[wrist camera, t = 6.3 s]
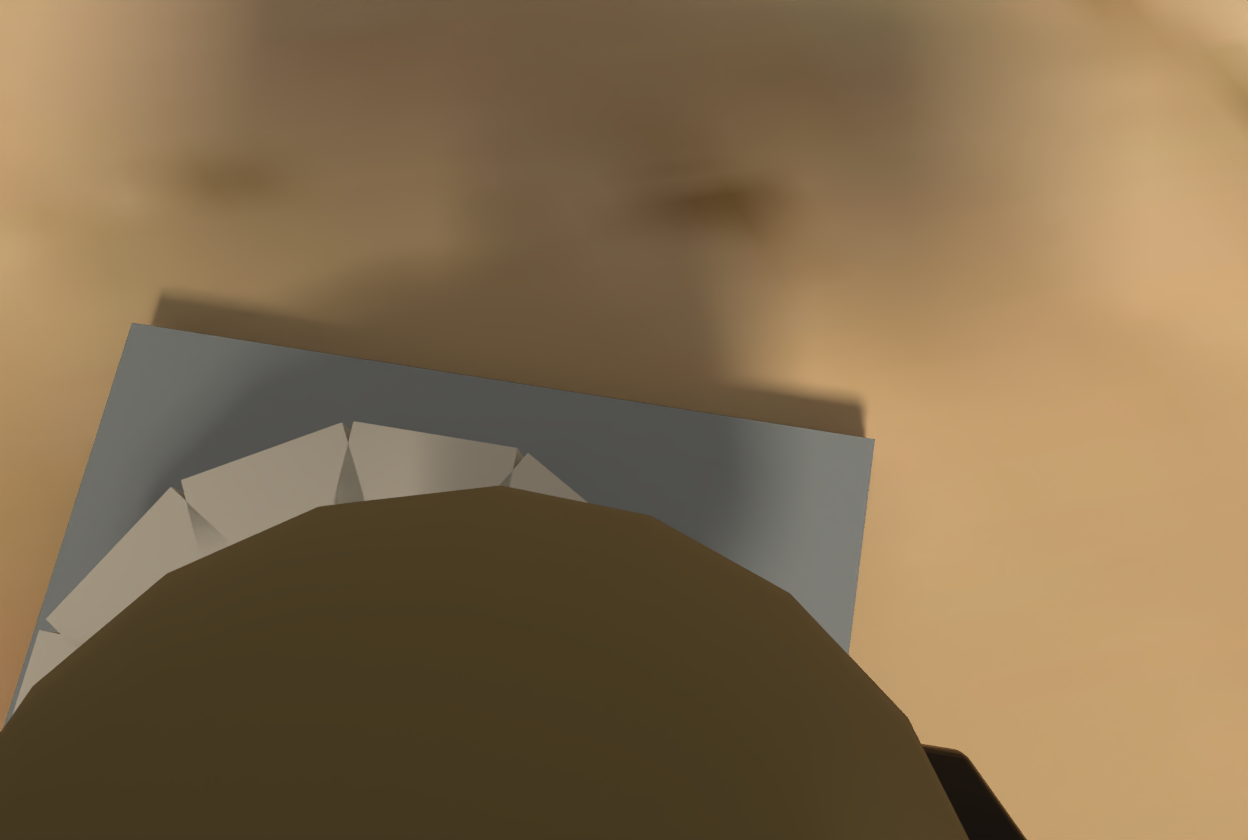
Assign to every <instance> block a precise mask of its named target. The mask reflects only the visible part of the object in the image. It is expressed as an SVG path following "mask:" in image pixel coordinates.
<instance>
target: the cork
mask: <svg viewBox="0 0 1248 840" xmlns="http://www.w3.org/2000/svg"><path fill="white" fill-rule="evenodd" d="M0 840H969V838H968V836H967V834H966V832H965V830H964V828H963V826H962V824H961V822H960V820H959V818H958V816H957V814H956V812H955V810H954V808H953V806H952V804H951V802H950V800H949V798H948V796H947V794H946V792H945V791H944V789H943V787H942V785H941V783H940V781H939V779H938V777H937V775H936V773H935V771H934V769H933V767H932V765H931V763H930V761H929V759H928V757H927V755H926V753H925V751H924V749H923V747H922V745H921V743H920V741H919V739H918V737H917V735H916V733H915V731H914V729H913V727H912V725H911V723H910V721H909V719H908V717H907V716H906V715H905V714H904V713H903V712H902V711H901V710H900V709H899V708H898V707H897V706H896V705H895V704H894V703H893V701H892V700H891V699H890V698H889V697H888V696H887V695H886V694H885V693H884V692H883V691H882V690H881V689H880V688H879V687H878V686H877V685H876V684H875V682H874V681H873V680H872V679H871V678H870V677H869V676H868V675H867V674H866V673H865V672H864V671H863V670H862V669H861V668H860V667H859V666H858V664H857V663H856V662H855V661H854V660H853V659H852V658H851V657H850V656H849V655H848V654H847V653H846V652H845V651H844V650H843V649H842V648H841V647H840V645H839V644H838V643H837V642H836V641H835V640H834V639H833V638H832V637H831V636H830V635H829V634H828V633H827V632H826V631H825V630H824V629H823V628H822V626H821V625H820V624H819V623H818V622H817V621H816V620H815V619H814V618H813V617H812V616H811V615H810V614H809V613H808V612H807V611H806V610H805V609H804V607H803V606H802V605H801V604H800V603H799V602H798V601H797V600H796V599H795V598H794V597H793V596H792V595H791V594H790V593H789V592H787V591H785V590H783V589H782V588H780V587H778V586H776V585H774V584H773V583H771V582H769V581H767V580H765V579H764V578H762V577H760V576H758V575H756V574H755V573H753V572H751V571H749V570H747V569H746V568H744V567H742V566H740V565H739V564H737V563H735V562H733V561H731V560H730V559H728V558H726V557H724V556H722V555H721V554H719V553H717V552H715V551H713V550H712V549H710V548H708V547H706V546H705V545H703V544H701V543H699V542H697V541H696V540H694V539H692V538H690V537H688V536H687V535H685V534H683V533H681V532H679V531H678V530H676V529H674V528H672V527H670V526H669V525H667V524H665V523H663V522H662V521H660V520H658V519H656V518H654V517H653V516H651V515H646V514H641V513H636V512H631V511H626V510H621V509H616V508H611V507H606V506H601V505H596V504H591V503H586V502H581V501H576V500H571V499H566V498H561V497H556V496H551V495H546V494H541V493H536V492H531V491H526V490H521V489H516V488H511V487H506V486H501V485H499V486H490V487H482V488H473V489H464V490H455V491H447V492H438V493H429V494H421V495H412V496H403V497H395V498H386V499H377V500H368V501H360V502H351V503H343V504H335V505H327V506H319V507H316V508H314V509H312V510H310V511H307V512H305V513H303V514H301V515H298V516H296V517H294V518H291V519H289V520H287V521H285V522H282V523H280V524H278V525H276V526H273V527H271V528H269V529H267V530H264V531H262V532H260V533H257V534H255V535H253V536H251V537H248V538H246V539H244V540H242V541H239V542H237V543H235V544H232V545H230V546H228V547H226V548H223V549H221V550H219V551H217V552H214V553H212V554H210V555H208V556H205V557H203V558H201V559H198V560H196V561H194V562H192V563H189V564H187V565H185V566H183V567H180V568H178V569H176V570H174V571H171V572H169V573H167V574H166V575H164V576H163V577H162V578H161V579H160V580H158V581H157V582H156V583H155V584H154V585H152V586H151V587H150V588H149V589H148V590H146V591H145V592H144V593H143V594H142V595H141V596H139V597H138V598H137V599H136V600H135V601H133V602H132V603H131V604H130V605H129V606H127V607H126V608H125V609H124V610H123V611H121V612H120V613H119V614H118V615H117V616H116V617H114V618H113V619H112V620H111V621H110V622H108V623H107V624H106V625H105V626H104V627H102V628H101V629H100V630H99V631H98V632H96V633H95V634H94V635H93V636H92V637H91V638H89V639H88V640H87V641H86V642H85V643H83V644H82V645H81V646H80V647H79V648H77V649H76V650H75V651H74V652H73V653H71V654H70V655H69V656H68V657H67V658H66V659H64V660H63V661H62V662H61V663H60V664H58V665H57V666H56V667H55V668H54V669H52V670H51V671H50V672H49V673H48V674H46V675H45V676H44V677H43V678H42V679H41V680H39V681H38V682H37V683H36V684H35V685H33V686H32V688H31V689H30V691H29V692H28V694H27V695H26V696H25V698H24V699H23V701H22V702H21V704H20V705H19V707H18V708H17V709H16V711H15V712H14V714H13V715H12V717H11V718H10V720H9V721H8V722H7V724H6V725H5V727H4V728H3V730H2V731H1V733H0Z"/></svg>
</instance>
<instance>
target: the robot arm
mask: <svg viewBox="0 0 1248 840" xmlns="http://www.w3.org/2000/svg"><path fill="white" fill-rule="evenodd" d="M921 745H922V747H923V749H924V751H925V753H926V755H927V757H928V759H929V761H930V763H931V765H932V767H933V769H934V771H935V773H936V775H937V777H938V779H939V781H940V783H941V785H942V787H943V789H944V791H945V792H946V794H947V796H948V798H949V800H950V802H951V804H952V806H953V808H954V810H955V812H956V814H957V816H958V818H959V820H960V822H961V824H962V826H963V828H964V830H965V832H966V834H967V836H968V838H969V840H1027V839H1026V838H1025V837H1024V835H1023V834H1022V832H1021V831H1020V830H1019V828H1018V827H1017V825H1016V824H1015V822H1014V821H1013V820H1012V818H1011V817H1010V815H1009V814H1008V813H1007V811H1006V810H1005V808H1004V807H1003V806H1002V804H1001V803H1000V801H999V800H998V799H997V797H996V796H995V794H994V793H993V792H992V790H991V789H990V787H989V786H988V785H987V783H986V782H985V780H984V779H983V778H982V776H981V775H980V773H979V772H978V771H977V769H976V768H975V766H974V765H973V764H972V762H971V761H970V760H969V758H968V757H967V756H966V755H964V754H963V753H962V752H960V751H958V750H955V749H949V748H943V747H937V746H931V745H925V744H921Z"/></svg>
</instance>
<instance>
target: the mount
mask: <svg viewBox="0 0 1248 840" xmlns="http://www.w3.org/2000/svg"><path fill="white" fill-rule="evenodd" d="M874 441H875V439H870V438H864V437H857V436H851V435H845V434H838V433H832V432H825V431H819V430H813V429H806V428H800V427H794V426H787V425H781V424H774V423H768V422H762V421H755V420H749V419H743V418H736V417H730V416H723V415H717V414H711V413H704V412H698V411H692V410H685V409H679V408H672V407H666V406H660V405H653V404H647V403H641V402H634V401H628V400H621V399H615V398H609V397H602V396H596V395H590V394H583V393H577V392H570V391H564V390H558V389H551V388H545V387H539V386H532V385H526V384H519V383H513V382H507V381H500V380H494V379H487V378H481V377H475V376H468V375H462V374H456V373H449V372H443V371H436V370H430V369H424V368H417V367H411V366H405V365H398V364H392V363H385V362H379V361H373V360H366V359H360V358H354V357H347V356H341V355H334V354H328V353H322V352H315V351H309V350H303V349H296V348H290V347H283V346H277V345H271V344H264V343H258V342H252V341H245V340H239V339H232V338H226V337H220V336H213V335H207V334H201V333H194V332H188V331H181V330H175V329H169V328H162V327H156V326H150V325H143V324H137V323H132V325H131V328H130V331H129V334H128V337H127V340H126V343H125V347H124V350H123V353H122V356H121V359H120V362H119V366H118V369H117V372H116V375H115V378H114V381H113V384H112V388H111V391H110V394H109V397H108V400H107V403H106V406H105V410H104V413H103V416H102V419H101V422H100V425H99V428H98V432H97V435H96V438H95V441H94V444H93V447H92V451H91V454H90V457H89V460H88V463H87V466H86V469H85V473H84V476H83V479H82V482H81V485H80V488H79V491H78V495H77V498H76V501H75V504H74V507H73V510H72V513H71V517H70V520H69V523H68V526H67V529H66V532H65V536H64V539H63V542H62V545H61V548H60V551H59V554H58V558H57V561H56V564H55V567H54V570H53V573H52V576H51V580H50V583H49V586H48V589H47V592H46V595H45V598H44V602H43V605H42V608H41V611H40V614H39V617H38V621H37V624H36V627H35V630H34V633H33V636H32V639H31V643H30V646H29V649H28V652H27V655H26V658H25V661H24V665H23V668H22V671H21V674H20V677H19V680H18V683H17V687H16V690H15V693H14V696H13V699H12V702H11V706H10V709H9V712H8V715H7V718H6V721H5V724H4V727H5V725H6V724H7V722H8V721H9V720H10V718H11V717H12V715H13V714H14V712H15V711H16V709H17V708H18V707H19V705H20V704H21V702H22V701H23V699H24V698H25V696H26V695H27V694H28V692H29V691H30V689H31V688H32V686H33V685H35V684H36V683H37V682H38V681H39V680H41V679H42V678H43V677H44V676H45V675H46V674H48V673H49V672H50V671H51V670H52V669H54V668H55V667H56V666H57V665H58V664H60V663H61V662H62V661H63V660H64V659H66V658H67V657H68V656H69V655H70V654H71V653H73V652H74V651H75V650H76V649H77V648H79V647H80V646H81V645H82V644H83V643H85V642H86V641H87V640H88V639H89V638H91V637H92V636H93V635H94V634H95V633H96V632H98V631H99V630H100V629H101V628H102V627H104V626H105V625H106V624H107V623H108V622H110V621H111V620H112V619H113V618H114V617H116V616H117V615H118V614H119V613H120V612H121V611H123V610H124V609H125V608H126V607H127V606H129V605H130V604H131V603H132V602H133V601H135V600H136V599H137V598H138V597H139V596H141V595H142V594H143V593H144V592H145V591H146V590H148V589H149V588H150V587H151V586H152V585H154V584H155V583H156V582H157V581H158V580H160V579H161V578H162V577H163V576H164V575H166V574H167V573H169V572H171V571H174V570H176V569H178V568H180V567H183V566H185V565H187V564H189V563H192V562H194V561H196V560H198V559H201V558H203V557H205V556H208V555H210V554H212V553H214V552H217V551H219V550H221V549H223V548H226V547H228V546H230V545H232V544H235V543H237V542H239V541H242V540H244V539H246V538H248V537H251V536H253V535H255V534H257V533H260V532H262V531H264V530H267V529H269V528H271V527H273V526H276V525H278V524H280V523H282V522H285V521H287V520H289V519H291V518H294V517H296V516H298V515H301V514H303V513H305V512H307V511H310V510H312V509H314V508H316V507H319V506H327V505H335V504H343V503H351V502H360V501H368V500H377V499H386V498H395V497H403V496H412V495H421V494H429V493H438V492H447V491H455V490H464V489H473V488H482V487H490V486H499V485H501V486H506V487H511V488H516V489H521V490H526V491H531V492H536V493H541V494H546V495H551V496H556V497H561V498H566V499H571V500H576V501H581V502H586V503H591V504H596V505H601V506H606V507H611V508H616V509H621V510H626V511H631V512H636V513H641V514H646V515H651V516H653V517H654V518H656V519H658V520H660V521H662V522H663V523H665V524H667V525H669V526H670V527H672V528H674V529H676V530H678V531H679V532H681V533H683V534H685V535H687V536H688V537H690V538H692V539H694V540H696V541H697V542H699V543H701V544H703V545H705V546H706V547H708V548H710V549H712V550H713V551H715V552H717V553H719V554H721V555H722V556H724V557H726V558H728V559H730V560H731V561H733V562H735V563H737V564H739V565H740V566H742V567H744V568H746V569H747V570H749V571H751V572H753V573H755V574H756V575H758V576H760V577H762V578H764V579H765V580H767V581H769V582H771V583H773V584H774V585H776V586H778V587H780V588H782V589H783V590H785V591H787V592H789V593H790V594H791V595H792V596H793V597H794V598H795V599H796V600H797V601H798V602H799V603H800V604H801V605H802V606H803V607H804V609H805V610H806V611H807V612H808V613H809V614H810V615H811V616H812V617H813V618H814V619H815V620H816V621H817V622H818V623H819V624H820V625H821V626H822V628H823V629H824V630H825V631H826V632H827V633H828V634H829V635H830V636H831V637H832V638H833V639H834V640H835V641H836V642H837V643H838V644H839V645H840V647H841V648H842V649H843V650H844V651H845V652H846V653H847V654H848V655H849V647H850V638H851V630H852V622H853V614H854V606H855V597H856V589H857V581H858V573H859V565H860V556H861V548H862V540H863V532H864V524H865V515H866V507H867V499H868V491H869V482H870V474H871V466H872V458H873V450H874Z"/></svg>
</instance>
